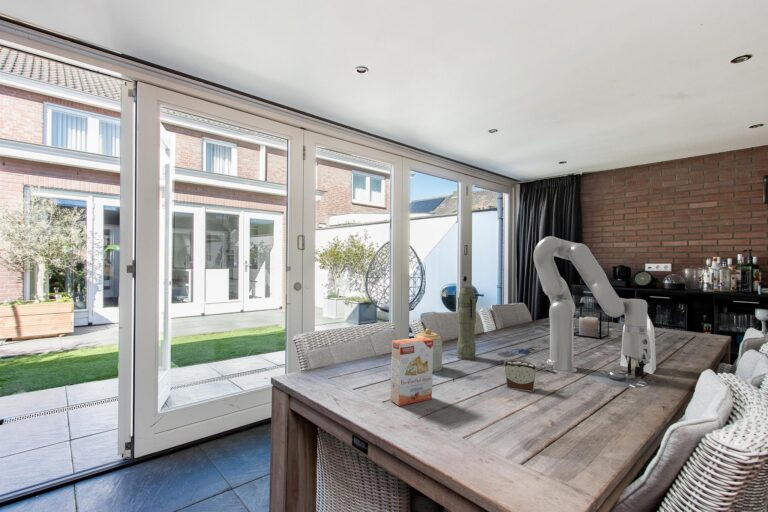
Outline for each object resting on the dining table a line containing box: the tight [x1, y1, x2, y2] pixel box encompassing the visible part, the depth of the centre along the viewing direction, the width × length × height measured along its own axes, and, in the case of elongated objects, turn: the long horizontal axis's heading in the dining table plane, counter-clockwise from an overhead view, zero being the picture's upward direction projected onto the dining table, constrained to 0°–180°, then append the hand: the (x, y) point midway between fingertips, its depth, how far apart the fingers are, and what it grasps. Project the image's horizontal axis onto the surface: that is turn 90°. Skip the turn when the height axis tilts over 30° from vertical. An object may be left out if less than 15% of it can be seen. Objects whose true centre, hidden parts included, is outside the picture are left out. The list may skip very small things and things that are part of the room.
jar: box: [414, 328, 443, 373], centre depth 165 cm, size 13×13×18 cm
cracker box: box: [390, 337, 433, 407], centre depth 127 cm, size 14×6×21 cm, turn 121°
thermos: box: [456, 286, 477, 361], centre depth 184 cm, size 9×12×35 cm
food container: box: [502, 358, 539, 392], centre depth 142 cm, size 12×6×10 cm, turn 65°
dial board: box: [588, 371, 648, 389], centre depth 149 cm, size 20×20×1 cm
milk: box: [619, 313, 657, 375], centre depth 169 cm, size 12×12×26 cm
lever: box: [607, 357, 641, 380], centre depth 149 cm, size 13×6×8 cm, turn 94°
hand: (635, 374), depth 150 cm, fingers closed on lever, 3 cm apart
